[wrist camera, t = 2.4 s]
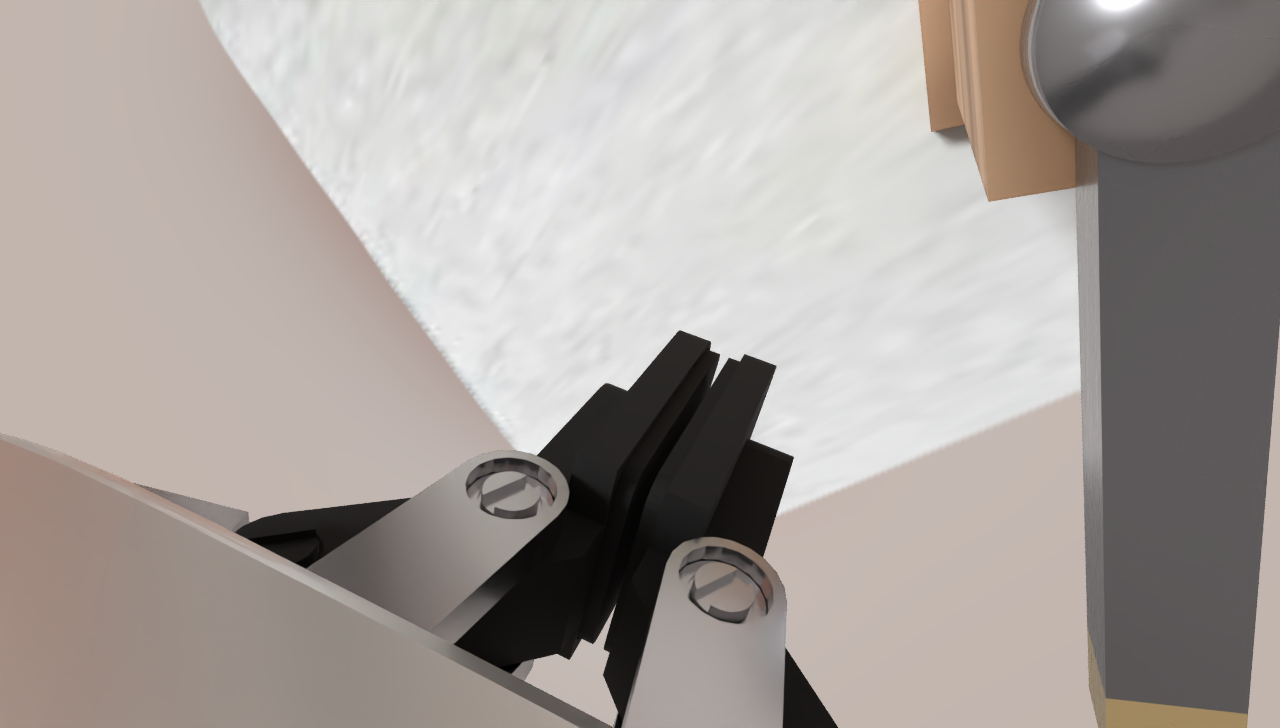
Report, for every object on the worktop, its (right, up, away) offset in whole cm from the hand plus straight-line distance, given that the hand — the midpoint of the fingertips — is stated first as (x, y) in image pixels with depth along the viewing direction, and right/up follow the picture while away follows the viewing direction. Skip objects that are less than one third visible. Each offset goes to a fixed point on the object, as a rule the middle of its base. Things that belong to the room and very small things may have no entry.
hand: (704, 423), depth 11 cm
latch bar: (+7, +1, -1) cm, 7 cm away
